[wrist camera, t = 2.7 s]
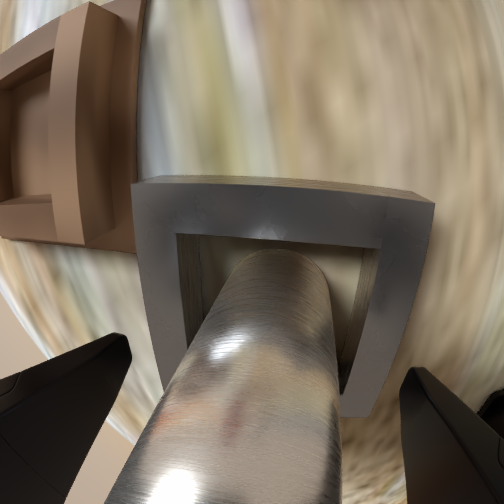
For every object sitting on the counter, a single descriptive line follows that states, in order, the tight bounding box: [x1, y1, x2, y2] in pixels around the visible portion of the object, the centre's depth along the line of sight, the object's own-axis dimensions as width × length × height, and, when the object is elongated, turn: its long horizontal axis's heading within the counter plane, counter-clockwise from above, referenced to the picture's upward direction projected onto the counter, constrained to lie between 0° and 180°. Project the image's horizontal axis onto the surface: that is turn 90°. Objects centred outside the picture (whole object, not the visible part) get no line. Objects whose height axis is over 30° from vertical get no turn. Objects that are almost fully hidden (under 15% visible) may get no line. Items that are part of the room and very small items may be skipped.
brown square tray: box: [0, 0, 146, 253], centre depth 9 cm, size 11×11×2 cm
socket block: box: [131, 175, 435, 418], centre depth 10 cm, size 9×9×2 cm
